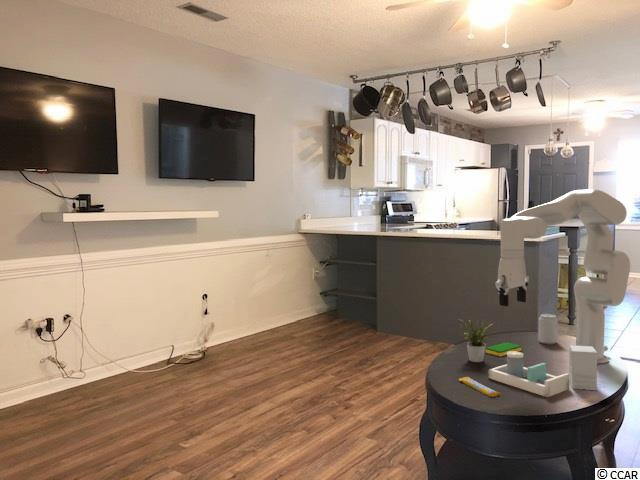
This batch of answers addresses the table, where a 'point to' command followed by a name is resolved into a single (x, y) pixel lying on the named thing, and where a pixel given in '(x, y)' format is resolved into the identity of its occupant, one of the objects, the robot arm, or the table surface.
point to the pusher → (537, 373)
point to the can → (548, 329)
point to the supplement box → (583, 367)
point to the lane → (551, 383)
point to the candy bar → (479, 387)
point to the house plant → (476, 342)
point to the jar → (515, 363)
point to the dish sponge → (503, 349)
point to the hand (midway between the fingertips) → (512, 303)
